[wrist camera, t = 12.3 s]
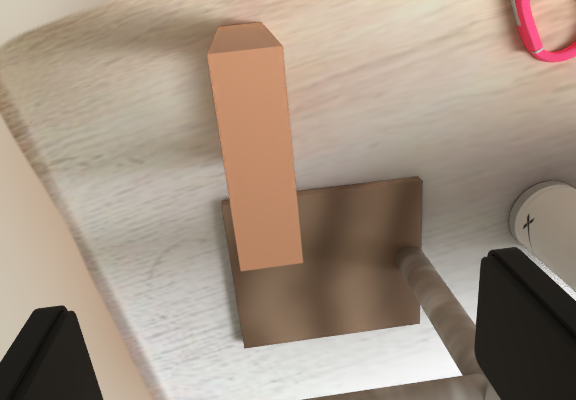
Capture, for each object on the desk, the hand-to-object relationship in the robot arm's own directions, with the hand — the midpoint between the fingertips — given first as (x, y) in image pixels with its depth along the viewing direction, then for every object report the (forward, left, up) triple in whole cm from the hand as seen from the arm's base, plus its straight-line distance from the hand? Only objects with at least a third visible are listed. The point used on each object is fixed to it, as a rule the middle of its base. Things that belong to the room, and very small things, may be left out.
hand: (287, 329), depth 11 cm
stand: (-5, +15, -27) cm, 31 cm away
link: (0, 0, -27) cm, 27 cm away
